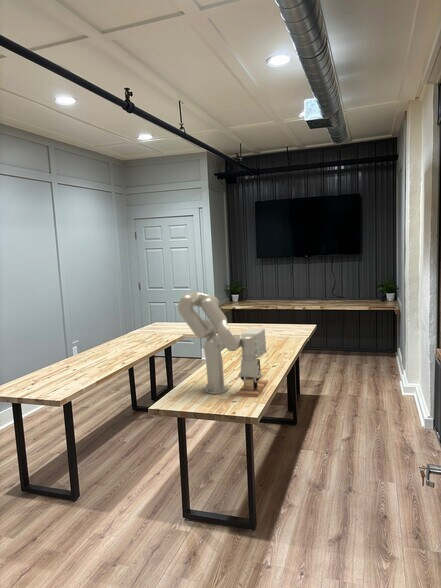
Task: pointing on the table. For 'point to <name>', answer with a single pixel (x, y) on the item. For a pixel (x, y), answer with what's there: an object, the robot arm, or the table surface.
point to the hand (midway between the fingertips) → (251, 388)
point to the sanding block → (249, 384)
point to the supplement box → (257, 340)
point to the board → (257, 391)
